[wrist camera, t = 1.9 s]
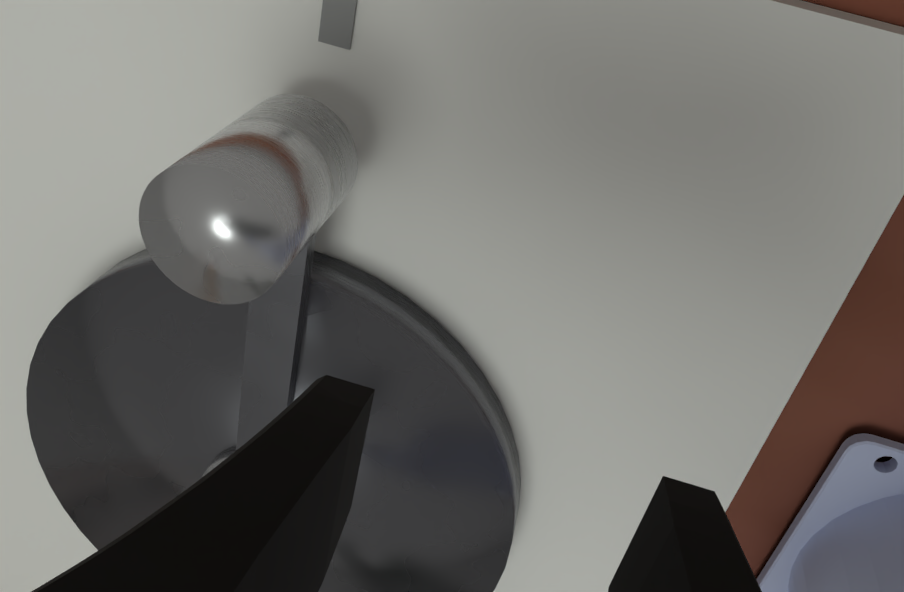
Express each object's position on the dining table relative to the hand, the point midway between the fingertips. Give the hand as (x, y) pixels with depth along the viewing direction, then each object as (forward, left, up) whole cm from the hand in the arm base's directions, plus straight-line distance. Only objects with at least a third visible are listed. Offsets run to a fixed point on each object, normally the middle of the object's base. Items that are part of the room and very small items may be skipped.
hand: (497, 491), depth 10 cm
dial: (+6, +8, -9) cm, 14 cm away
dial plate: (+7, +9, -10) cm, 15 cm away
